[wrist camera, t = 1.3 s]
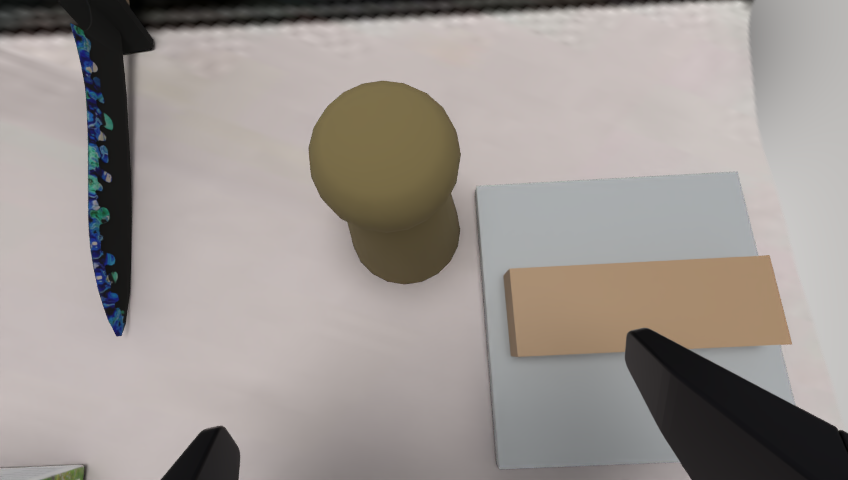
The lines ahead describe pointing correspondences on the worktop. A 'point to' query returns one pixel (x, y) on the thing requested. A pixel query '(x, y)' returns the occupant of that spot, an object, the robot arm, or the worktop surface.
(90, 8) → the knife
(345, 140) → the olive pepper mill
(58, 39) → the worktop surface
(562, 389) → the ridge board
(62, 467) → the syrup box
